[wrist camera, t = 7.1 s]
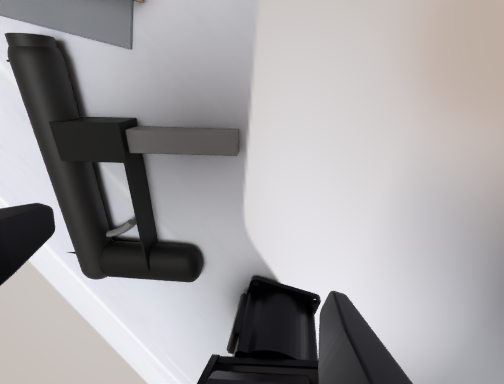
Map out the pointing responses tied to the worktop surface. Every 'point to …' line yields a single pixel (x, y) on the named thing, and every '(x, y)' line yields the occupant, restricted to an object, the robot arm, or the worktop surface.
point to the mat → (77, 17)
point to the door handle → (104, 150)
